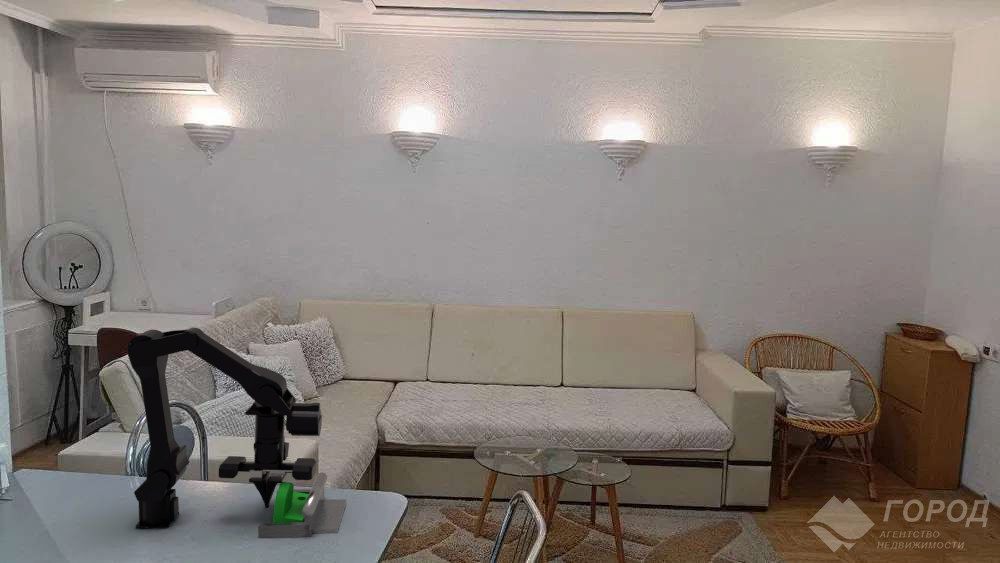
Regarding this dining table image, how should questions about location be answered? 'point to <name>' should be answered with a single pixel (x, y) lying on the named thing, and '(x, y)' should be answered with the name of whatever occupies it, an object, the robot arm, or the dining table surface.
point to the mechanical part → (288, 504)
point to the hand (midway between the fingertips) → (267, 507)
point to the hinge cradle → (310, 515)
